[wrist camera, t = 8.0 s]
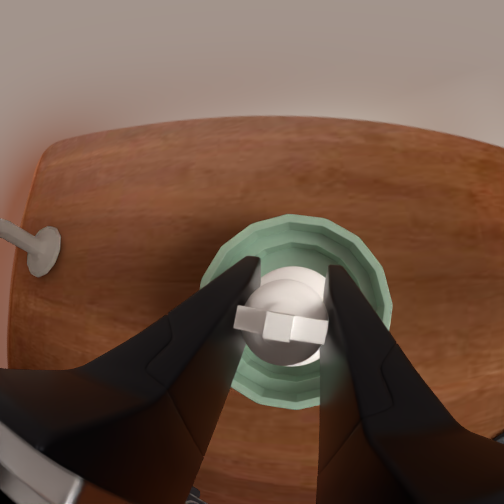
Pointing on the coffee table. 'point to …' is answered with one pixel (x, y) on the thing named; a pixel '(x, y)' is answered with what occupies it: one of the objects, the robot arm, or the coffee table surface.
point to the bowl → (308, 256)
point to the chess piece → (285, 317)
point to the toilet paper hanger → (34, 245)
